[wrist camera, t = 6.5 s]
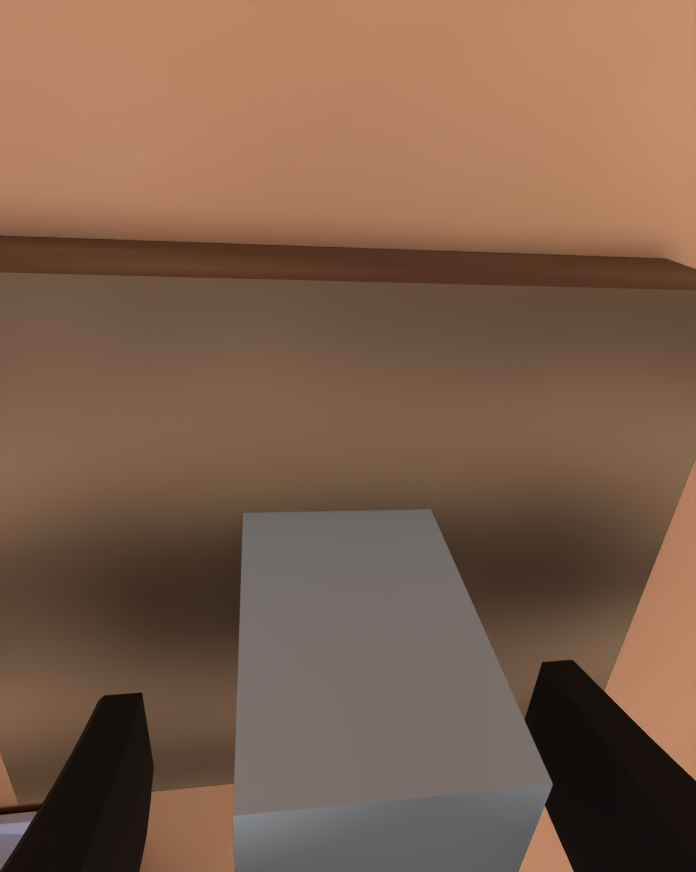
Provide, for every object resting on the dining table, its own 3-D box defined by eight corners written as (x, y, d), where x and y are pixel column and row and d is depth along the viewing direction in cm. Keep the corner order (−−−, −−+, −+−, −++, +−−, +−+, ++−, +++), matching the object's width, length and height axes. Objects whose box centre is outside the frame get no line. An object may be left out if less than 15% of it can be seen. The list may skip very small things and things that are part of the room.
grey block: (407, 641, 15) (492, 935, 9) (244, 650, 14) (237, 970, 9) (430, 509, 13) (552, 784, 7) (243, 512, 12) (233, 816, 7)
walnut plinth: (539, 668, 20) (581, 749, 18) (52, 705, 18) (18, 804, 16) (666, 258, 14) (760, 291, 11) (-75, 233, 12) (-172, 268, 9)
